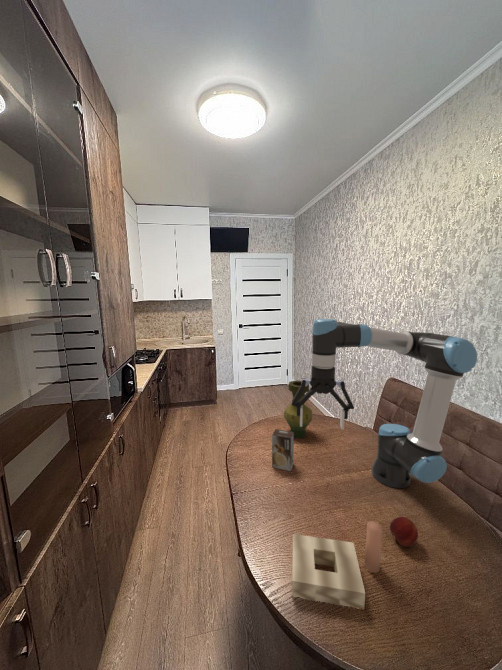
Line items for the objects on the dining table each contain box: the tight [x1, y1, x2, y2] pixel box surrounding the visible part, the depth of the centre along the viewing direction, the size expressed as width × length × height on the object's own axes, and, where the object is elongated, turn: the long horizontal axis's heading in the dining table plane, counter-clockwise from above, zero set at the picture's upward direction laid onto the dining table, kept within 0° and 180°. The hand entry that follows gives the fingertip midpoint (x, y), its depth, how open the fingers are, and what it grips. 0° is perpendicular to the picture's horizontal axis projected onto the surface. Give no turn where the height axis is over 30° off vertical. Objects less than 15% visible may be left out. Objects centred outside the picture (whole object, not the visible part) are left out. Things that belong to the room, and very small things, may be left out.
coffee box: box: [271, 428, 295, 472], centre depth 124 cm, size 9×6×16 cm
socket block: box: [291, 533, 366, 609], centre depth 75 cm, size 18×14×5 cm
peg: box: [364, 520, 384, 574], centre depth 77 cm, size 4×4×13 cm
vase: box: [283, 380, 313, 439], centre depth 151 cm, size 16×16×30 cm
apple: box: [389, 516, 419, 547], centre depth 85 cm, size 7×8×8 cm
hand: (321, 426), depth 91 cm, fingers open, 13 cm apart
